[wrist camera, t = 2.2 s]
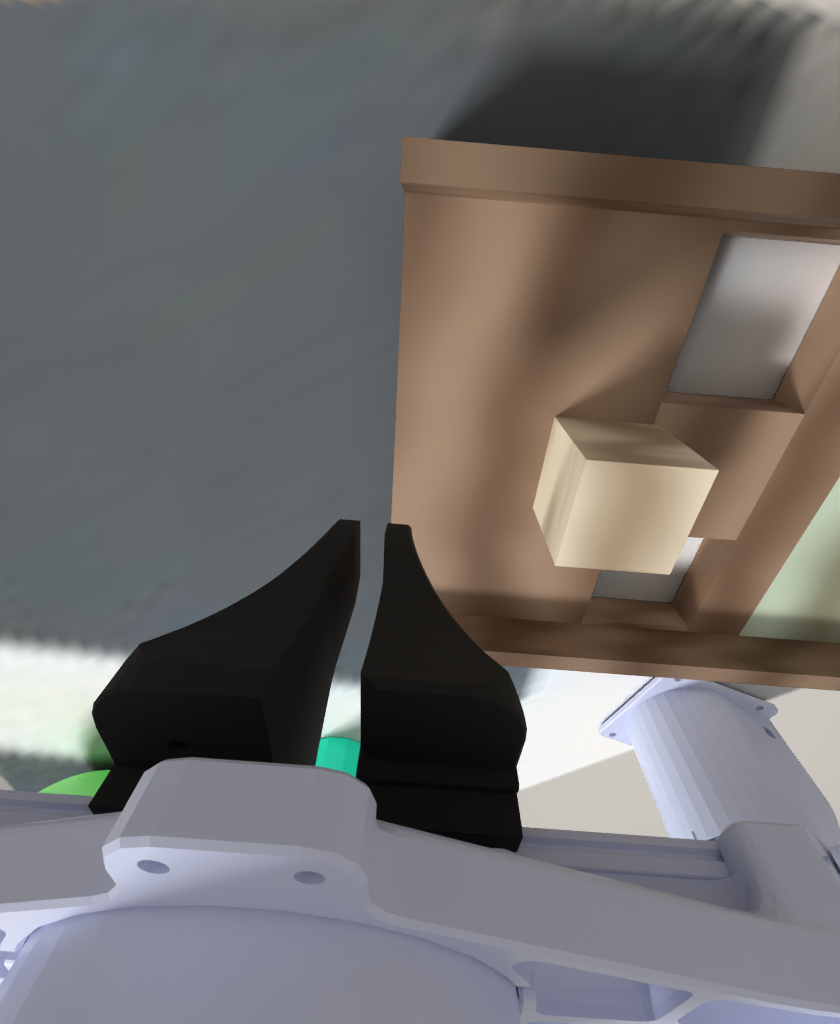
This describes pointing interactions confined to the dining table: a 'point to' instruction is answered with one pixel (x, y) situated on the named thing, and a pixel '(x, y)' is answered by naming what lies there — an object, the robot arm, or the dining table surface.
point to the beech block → (619, 495)
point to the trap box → (610, 406)
